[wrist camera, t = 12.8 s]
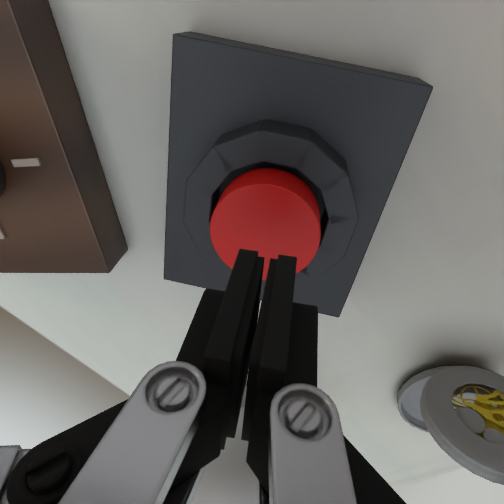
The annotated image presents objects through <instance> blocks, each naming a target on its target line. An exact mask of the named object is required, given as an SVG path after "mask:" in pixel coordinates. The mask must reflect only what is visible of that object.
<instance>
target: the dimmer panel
mask: <svg viewBox="0 0 504 504" xmlns="http://www.w3.org/2000/svg"><path fill="white" fill-rule="evenodd" d="M0 164H1V166H2V169H3V172H4V177H5V187H4V190H3V193H2V194H1V196H0V273H109V272H111V270H112V269H113V268H114V266H115V265H116V264H117V263H118V261H119V260H120V259H121V258H122V256H123V255H124V254H125V252H126V251H127V246H126V242H125V239H124V236H123V233H122V230H121V227H120V224H119V221H118V218H117V215H116V212H115V208H114V205H113V202H112V199H111V196H110V193H109V190H108V187H107V184H106V181H105V178H104V175H103V171H102V168H101V165H100V162H99V159H98V156H97V153H96V150H95V147H94V144H93V141H92V138H91V134H90V131H89V128H88V125H87V122H86V119H85V116H84V113H83V110H82V107H81V104H80V100H79V97H78V94H77V91H76V88H75V85H74V82H73V79H72V76H71V73H70V70H69V67H68V63H67V60H66V57H65V54H64V51H63V48H62V45H61V42H60V39H59V36H58V33H57V30H56V26H55V23H54V20H53V17H52V14H51V11H50V8H49V5H48V2H47V0H0Z"/></svg>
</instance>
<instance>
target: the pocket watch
mask: <svg viewBox="0 0 504 504" xmlns="http://www.w3.org/2000/svg"><path fill="white" fill-rule="evenodd" d="M397 402H398V409H399V412H400V415H401V416H402V417H403V419H404V420H405V421H406V422H408V423H409V424H410V425H411V426H414V427H416V428H418V429H420V430H423V431H425V432H429V433H430V434H431V435H432V437H433V438H434V440H435V441H436V442H437V444H438V445H439V446H440V448H442V449H443V450H444V451H445V452H446V453H447V454H448V455H449V456H450V457H451V458H452V459H454V460H455V461H456V462H457V463H459V464H460V465H462V466H463V467H465V468H466V469H468V470H469V471H471V472H472V473H474V474H476V475H478V476H480V477H483V478H485V479H487V480H489V481H492V482H495V483H499V484H503V485H504V376H501V375H499V374H497V373H495V372H492V371H490V370H486V369H482V368H478V367H472V366H441V367H437V368H433V369H429V370H425V371H423V372H421V373H419V374H417V375H415V376H413V377H411V378H410V379H409V380H408V381H407V382H406V383H405V384H404V385H403V386H402V387H401V389H400V391H399V393H398V398H397ZM502 421H503V422H502ZM501 422H502V423H501Z"/></svg>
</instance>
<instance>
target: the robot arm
mask: <svg viewBox="0 0 504 504" xmlns="http://www.w3.org/2000/svg"><path fill="white" fill-rule="evenodd" d="M264 260H265V257H260V256H258V251H253V250H247V249H239V251H238V254H237V257H236V260H235V263H234V266H233V269H232V272H231V275H230V278H229V281H228V284H227V287H226V290H225V291H220V290H214V289H208V288H207V289H206V290H205V291H204V293H203V296H202V298H201V301H200V303H199V305H198V308H197V310H196V313H195V315H194V318H193V320H192V323H191V325H190V327H189V330H188V332H187V335H186V337H185V340H184V342H183V345H182V347H181V350H180V352H179V354H178V357H177V359H176V361H171V362H166V363H163V364H160V365H157V366H156V367H154V368H153V369H151V370H150V371H149V372H148V373H147V374H146V375H145V376H144V377H143V378H142V380H141V381H140V383H139V384H138V386H137V387H136V389H135V390H134V392H133V393H132V395H131V396H130V398H129V399H127V400H125V401H124V402H121V403H119V404H117V405H115V406H114V407H111V408H109V409H108V410H105V411H104V412H101V413H100V414H97V415H96V416H94V417H92V418H90V419H88V420H86V421H84V422H82V423H80V424H78V425H76V426H74V427H72V428H70V429H68V430H66V431H64V432H62V433H60V434H58V435H56V436H54V437H52V438H50V439H48V440H46V441H44V442H42V443H41V444H39V445H37V446H36V447H34V448H32V449H22V448H21V447H20V445H11V446H0V504H191V503H192V500H193V498H194V495H195V493H196V491H197V488H198V486H199V483H200V481H201V478H202V476H203V473H204V469H205V466H206V465H207V464H209V463H210V462H212V461H213V460H215V459H216V458H218V457H219V456H220V452H221V450H224V448H225V443H226V439H227V437H229V438H235V434H236V429H237V424H238V419H239V414H240V409H241V404H242V399H243V394H244V389H245V384H246V379H247V374H248V380H247V389H246V399H245V408H244V417H243V426H242V436H241V440H245V441H249V442H248V449H247V457H246V462H247V464H248V465H249V467H250V468H251V470H252V471H253V473H254V474H255V476H256V477H257V479H258V482H257V504H406V503H405V502H404V501H403V500H402V499H401V498H400V497H399V495H398V494H397V493H396V492H395V491H394V490H393V489H392V488H391V487H390V485H389V484H388V483H387V482H386V481H385V480H384V479H383V478H382V477H381V476H380V475H379V473H378V472H377V471H376V470H375V469H374V468H373V467H372V466H371V465H370V464H369V463H368V461H367V460H366V459H365V458H364V457H363V456H362V455H361V454H360V453H359V452H358V451H357V449H356V448H355V447H354V446H353V445H352V444H351V443H350V442H349V441H348V440H347V439H346V437H345V436H344V435H343V432H342V427H341V422H340V418H339V413H338V411H337V408H336V405H335V404H334V402H333V401H332V399H331V398H330V397H329V396H328V395H327V394H326V393H325V392H323V391H322V390H321V389H319V388H317V343H318V307H317V306H314V305H307V304H301V303H295V302H293V295H294V285H295V275H296V264H297V257H293V256H287V255H280V254H279V255H278V259H273V258H270V263H269V268H268V273H267V278H266V283H265V288H264V293H263V298H262V303H261V308H260V313H259V318H258V312H259V304H260V295H261V287H262V278H263V269H264ZM257 321H258V323H257ZM248 369H249V371H248Z"/></svg>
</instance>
